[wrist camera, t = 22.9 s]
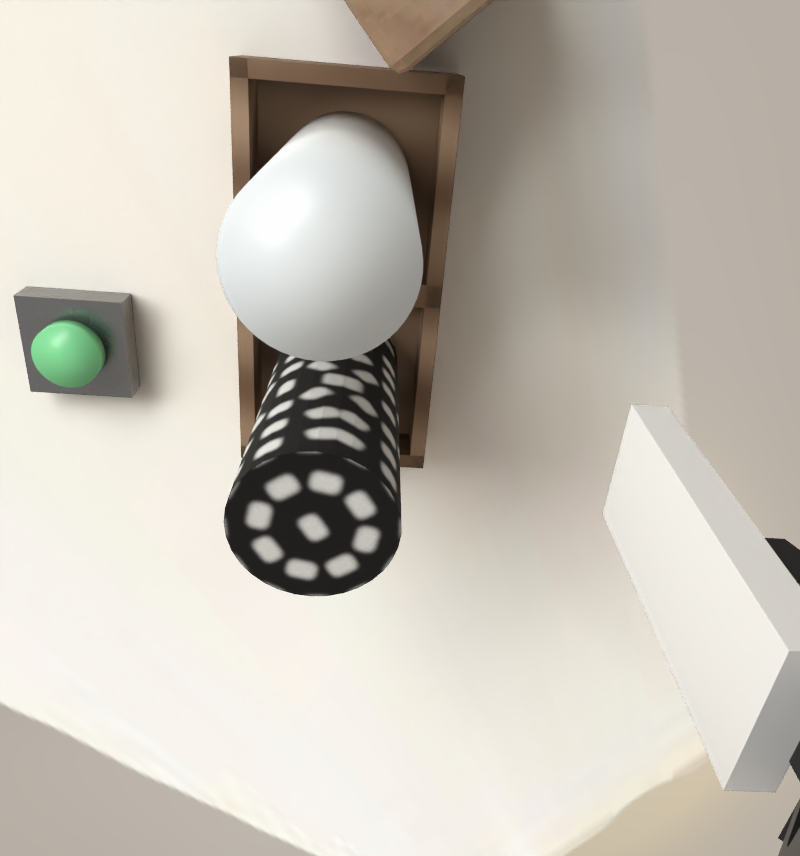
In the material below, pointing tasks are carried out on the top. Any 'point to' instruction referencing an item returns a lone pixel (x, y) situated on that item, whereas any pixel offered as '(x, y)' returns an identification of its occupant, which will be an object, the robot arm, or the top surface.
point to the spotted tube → (321, 476)
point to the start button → (68, 353)
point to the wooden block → (412, 26)
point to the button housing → (98, 313)
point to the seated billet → (325, 242)
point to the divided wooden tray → (430, 180)
